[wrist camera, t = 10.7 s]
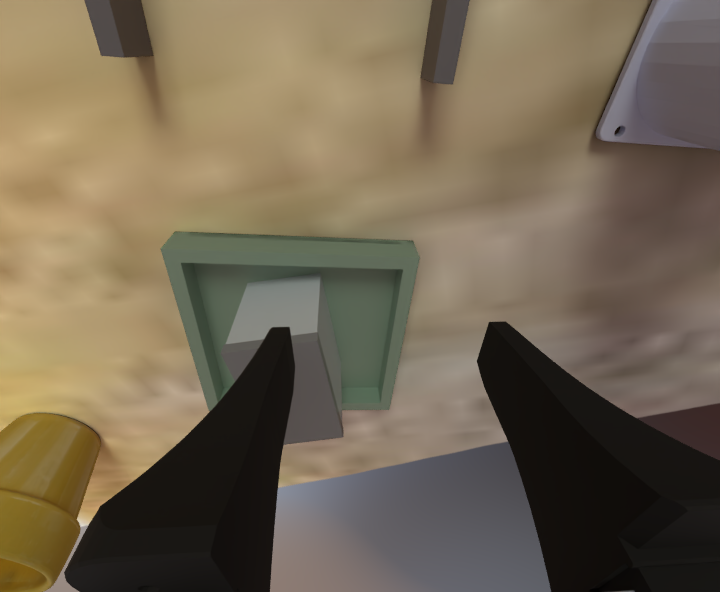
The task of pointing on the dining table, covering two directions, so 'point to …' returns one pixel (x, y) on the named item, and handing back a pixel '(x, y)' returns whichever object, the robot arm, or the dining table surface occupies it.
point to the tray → (288, 259)
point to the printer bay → (130, 39)
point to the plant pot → (41, 496)
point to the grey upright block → (294, 350)
